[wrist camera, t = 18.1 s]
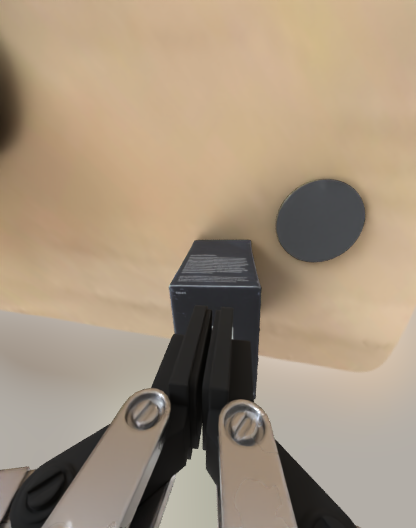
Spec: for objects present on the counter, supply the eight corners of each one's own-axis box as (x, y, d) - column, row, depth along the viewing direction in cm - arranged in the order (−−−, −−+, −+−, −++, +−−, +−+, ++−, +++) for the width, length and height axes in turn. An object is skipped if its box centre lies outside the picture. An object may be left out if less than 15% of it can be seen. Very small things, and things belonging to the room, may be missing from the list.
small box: (176, 397, 19) (197, 320, 29) (256, 404, 18) (250, 323, 28) (162, 283, 15) (192, 238, 25) (264, 285, 14) (253, 238, 24)
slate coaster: (372, 179, 21) (376, 179, 20) (350, 262, 24) (353, 264, 23) (280, 178, 21) (281, 178, 21) (271, 258, 25) (272, 260, 24)
